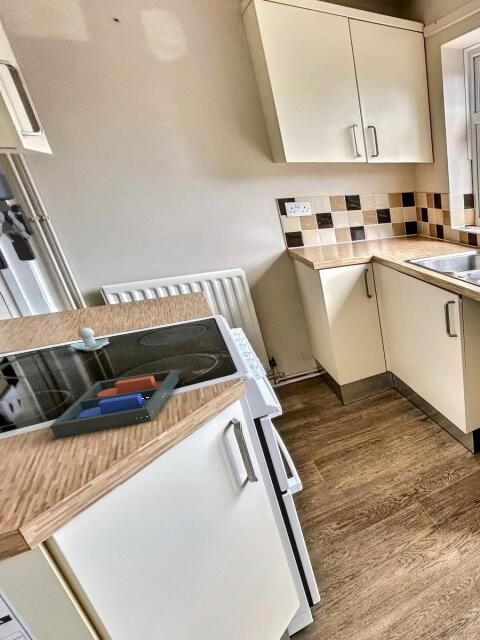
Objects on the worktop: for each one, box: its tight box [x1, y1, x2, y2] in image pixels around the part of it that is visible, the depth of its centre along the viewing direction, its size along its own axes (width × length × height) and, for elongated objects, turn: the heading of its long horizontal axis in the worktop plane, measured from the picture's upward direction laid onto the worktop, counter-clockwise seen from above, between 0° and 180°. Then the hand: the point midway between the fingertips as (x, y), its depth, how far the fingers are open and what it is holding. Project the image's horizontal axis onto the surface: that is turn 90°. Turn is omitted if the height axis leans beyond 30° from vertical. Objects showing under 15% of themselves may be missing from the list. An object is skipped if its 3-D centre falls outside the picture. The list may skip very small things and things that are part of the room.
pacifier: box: [70, 327, 110, 352], centre depth 112 cm, size 7×6×6 cm
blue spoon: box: [79, 393, 145, 419], centre depth 80 cm, size 10×4×3 cm, turn 113°
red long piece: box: [97, 376, 157, 398], centre depth 88 cm, size 10×4×3 cm, turn 113°
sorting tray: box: [49, 369, 180, 439], centre depth 84 cm, size 14×18×3 cm
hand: (14, 264), depth 79 cm, fingers open, 8 cm apart
